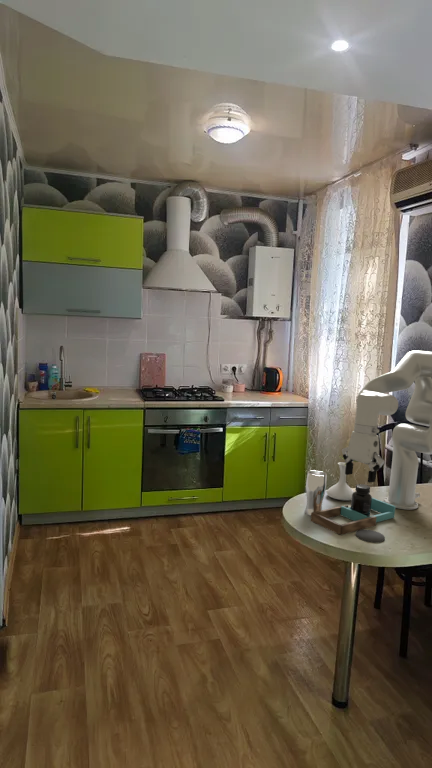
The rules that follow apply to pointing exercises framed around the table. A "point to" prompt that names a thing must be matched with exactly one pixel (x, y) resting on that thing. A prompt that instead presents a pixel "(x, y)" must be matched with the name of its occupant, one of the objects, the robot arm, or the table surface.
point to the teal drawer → (376, 505)
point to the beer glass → (315, 491)
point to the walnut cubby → (340, 529)
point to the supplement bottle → (362, 500)
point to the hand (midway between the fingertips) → (359, 478)
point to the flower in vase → (341, 483)
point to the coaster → (370, 536)
